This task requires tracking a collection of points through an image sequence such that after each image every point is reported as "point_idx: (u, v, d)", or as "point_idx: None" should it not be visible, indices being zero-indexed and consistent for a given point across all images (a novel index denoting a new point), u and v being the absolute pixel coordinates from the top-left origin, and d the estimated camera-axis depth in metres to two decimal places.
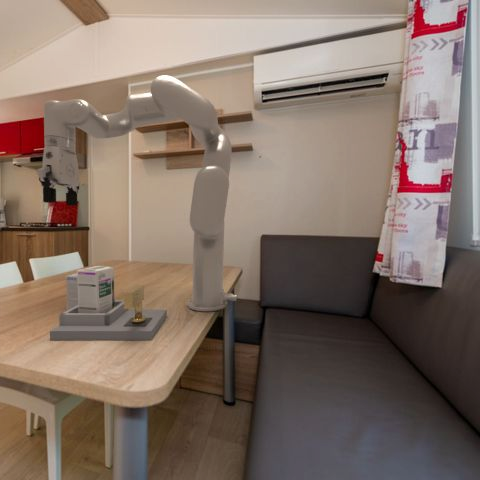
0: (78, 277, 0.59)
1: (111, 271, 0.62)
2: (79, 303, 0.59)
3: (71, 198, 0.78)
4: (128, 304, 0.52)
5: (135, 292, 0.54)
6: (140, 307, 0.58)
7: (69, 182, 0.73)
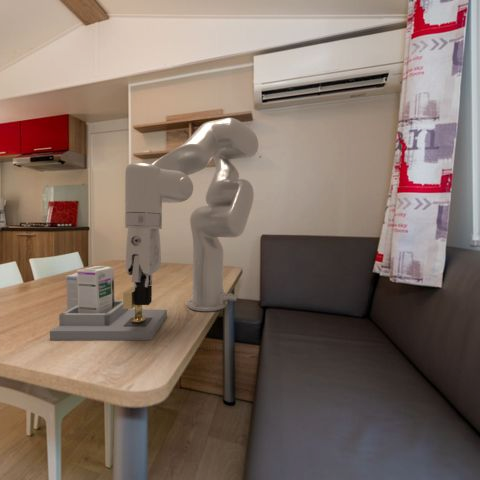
0: (78, 277, 0.59)
1: (111, 271, 0.62)
2: (79, 303, 0.59)
3: None
4: (127, 304, 0.52)
5: (134, 292, 0.54)
6: (140, 307, 0.58)
7: (155, 270, 0.54)
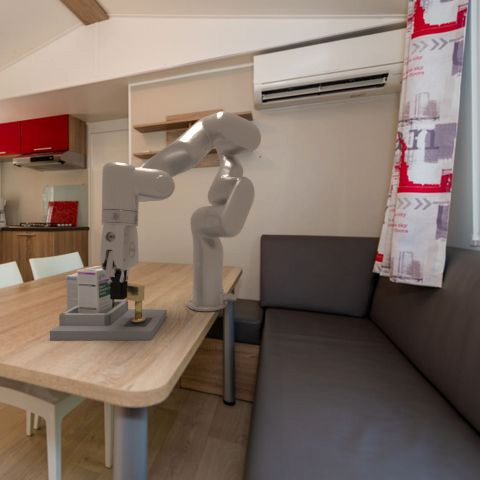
0: (78, 277, 0.59)
1: None
2: (79, 303, 0.59)
3: None
4: None
5: None
6: (135, 307, 0.58)
7: (130, 266, 0.56)
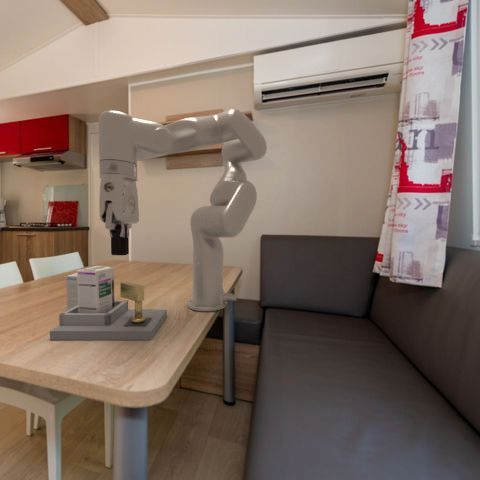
0: (78, 277, 0.59)
1: (111, 271, 0.62)
2: (79, 303, 0.59)
3: None
4: None
5: (124, 285, 0.60)
6: (135, 307, 0.58)
7: (131, 220, 0.54)
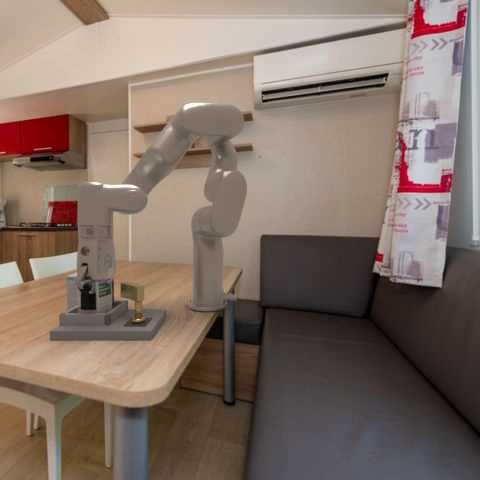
0: None
1: (111, 271, 0.62)
2: (79, 303, 0.59)
3: None
4: None
5: (124, 285, 0.60)
6: (135, 307, 0.58)
7: (106, 276, 0.60)
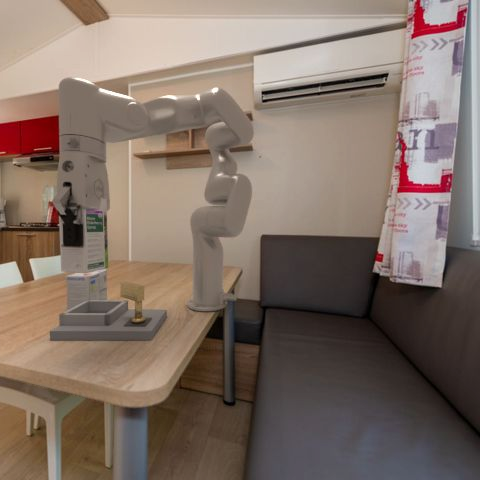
0: None
1: (103, 203, 0.49)
2: (61, 240, 0.45)
3: None
4: None
5: (124, 285, 0.60)
6: (135, 307, 0.58)
7: (97, 207, 0.47)
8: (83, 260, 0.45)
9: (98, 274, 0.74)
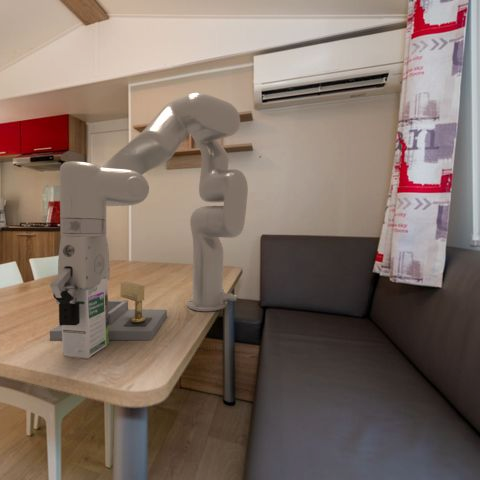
0: None
1: (104, 283, 0.50)
2: (63, 325, 0.46)
3: None
4: None
5: (124, 285, 0.60)
6: (135, 307, 0.58)
7: (98, 283, 0.48)
8: (85, 346, 0.46)
9: None
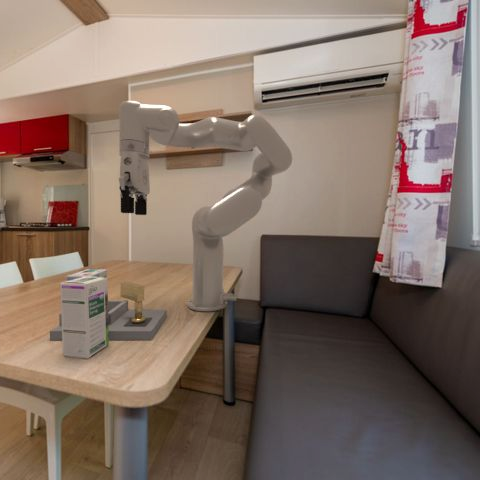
0: (61, 292, 0.46)
1: (104, 283, 0.50)
2: (63, 325, 0.46)
3: (141, 207, 0.72)
4: None
5: (124, 285, 0.60)
6: (135, 307, 0.58)
7: (144, 190, 0.67)
8: (85, 346, 0.46)
9: (98, 274, 0.74)
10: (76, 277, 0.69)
